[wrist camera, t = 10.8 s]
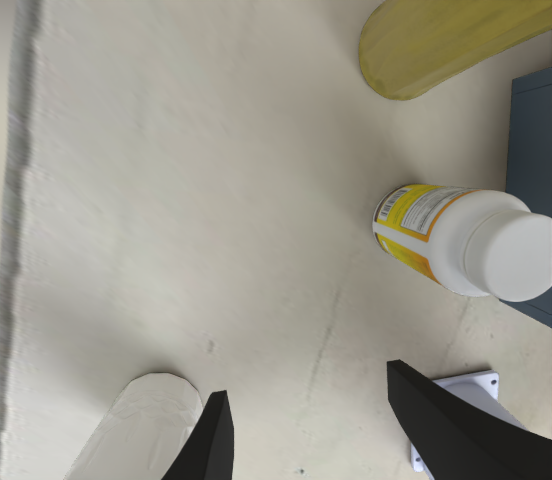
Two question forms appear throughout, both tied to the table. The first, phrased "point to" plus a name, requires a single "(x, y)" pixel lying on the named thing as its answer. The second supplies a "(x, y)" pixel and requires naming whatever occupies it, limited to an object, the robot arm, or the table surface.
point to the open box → (532, 164)
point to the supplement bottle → (468, 239)
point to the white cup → (140, 431)
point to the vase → (441, 39)
